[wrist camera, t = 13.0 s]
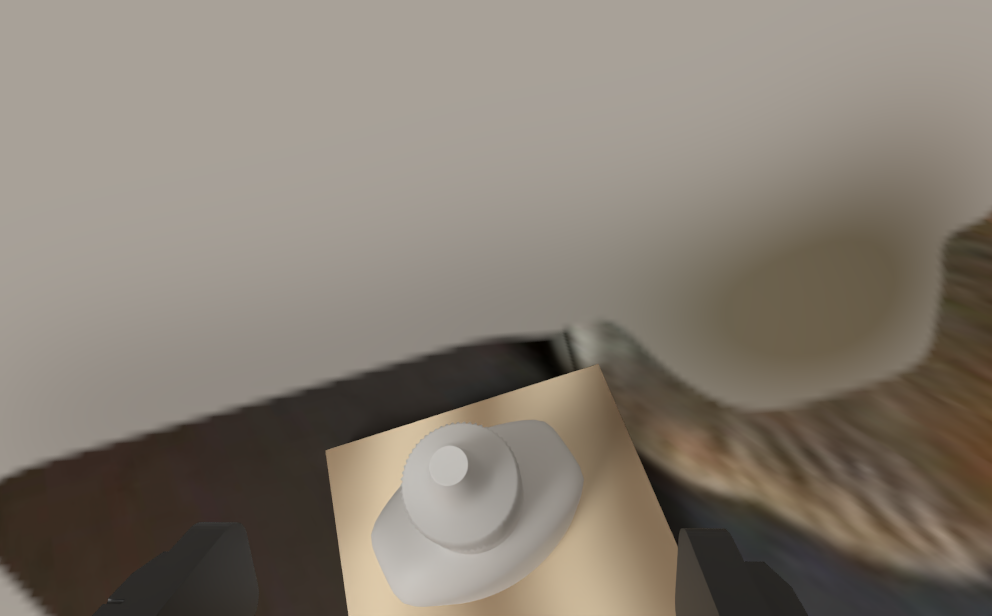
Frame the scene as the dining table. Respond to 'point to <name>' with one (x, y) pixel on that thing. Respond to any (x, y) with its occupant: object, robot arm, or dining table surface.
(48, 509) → the dining table surface
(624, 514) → the oak board
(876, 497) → the dining table surface
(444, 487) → the eye dropper bottle
